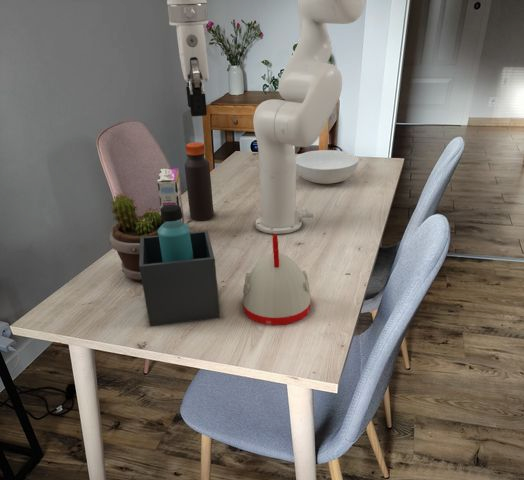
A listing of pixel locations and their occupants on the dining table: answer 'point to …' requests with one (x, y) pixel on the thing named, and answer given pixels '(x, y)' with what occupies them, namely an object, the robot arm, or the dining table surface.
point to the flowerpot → (131, 233)
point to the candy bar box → (170, 188)
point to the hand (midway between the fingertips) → (197, 111)
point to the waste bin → (179, 282)
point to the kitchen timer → (276, 290)
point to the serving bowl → (326, 166)
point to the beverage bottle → (174, 235)
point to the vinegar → (198, 183)
